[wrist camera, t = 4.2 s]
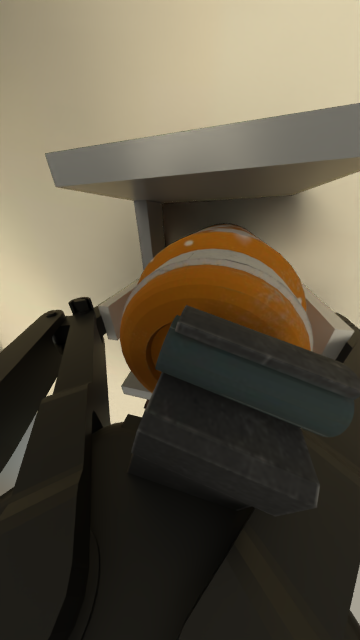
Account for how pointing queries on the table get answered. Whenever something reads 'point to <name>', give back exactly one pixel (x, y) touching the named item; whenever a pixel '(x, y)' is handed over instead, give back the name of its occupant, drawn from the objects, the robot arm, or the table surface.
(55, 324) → the robot arm
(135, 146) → the dock
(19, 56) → the table surface
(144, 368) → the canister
